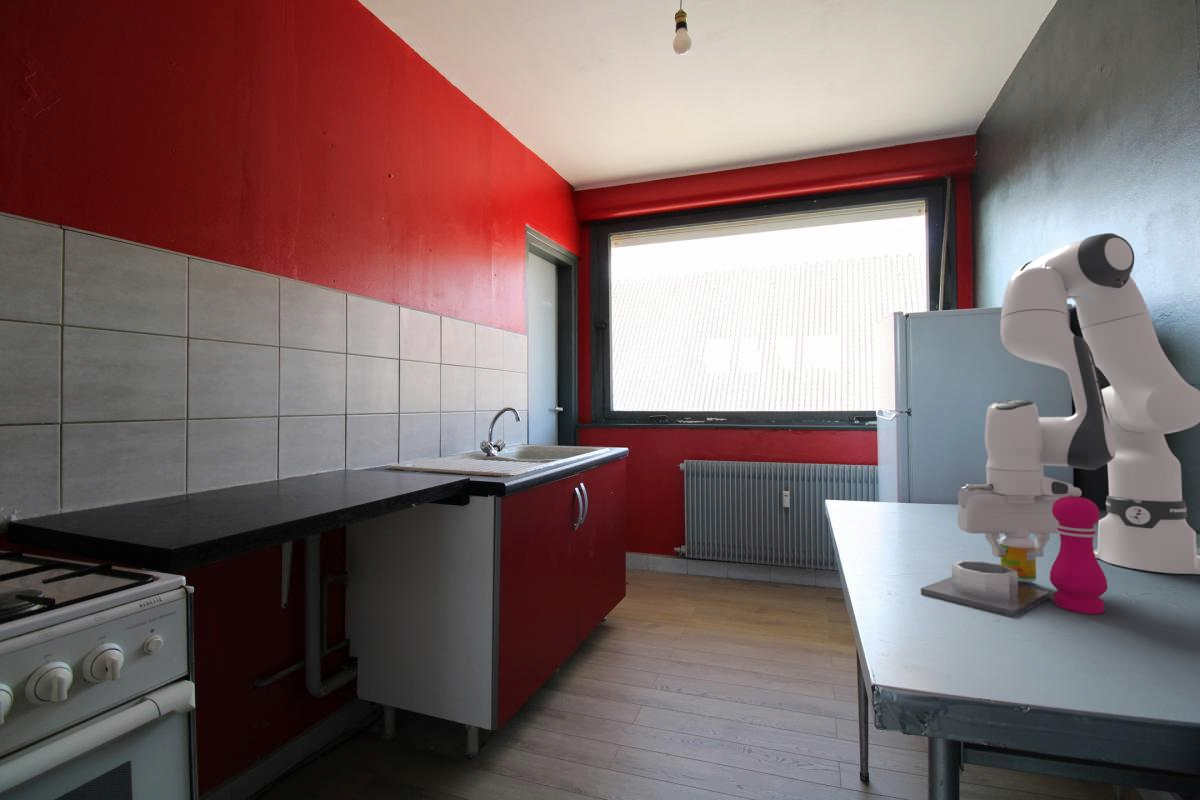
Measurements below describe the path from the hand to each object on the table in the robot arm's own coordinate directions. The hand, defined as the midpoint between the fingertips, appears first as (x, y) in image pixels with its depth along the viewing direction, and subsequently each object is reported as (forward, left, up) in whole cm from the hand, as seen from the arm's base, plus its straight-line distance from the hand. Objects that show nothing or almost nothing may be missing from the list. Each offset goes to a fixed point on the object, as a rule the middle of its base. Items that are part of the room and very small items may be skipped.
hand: (1017, 556), depth 104 cm
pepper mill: (+8, +11, -5) cm, 15 cm away
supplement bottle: (0, 0, -4) cm, 4 cm away
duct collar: (+14, 0, -5) cm, 15 cm away
